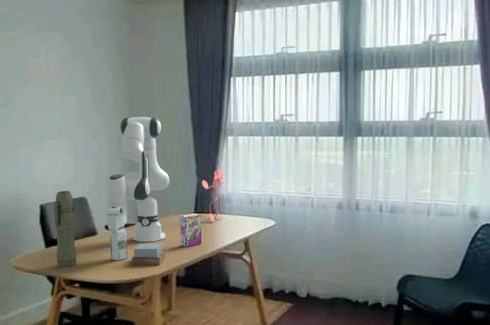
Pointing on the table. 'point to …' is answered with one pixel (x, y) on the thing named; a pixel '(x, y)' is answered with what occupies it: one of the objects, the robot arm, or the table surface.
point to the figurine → (218, 181)
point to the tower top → (148, 250)
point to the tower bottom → (148, 260)
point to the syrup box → (119, 245)
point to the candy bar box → (190, 230)
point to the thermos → (65, 229)
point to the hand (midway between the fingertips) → (118, 236)
